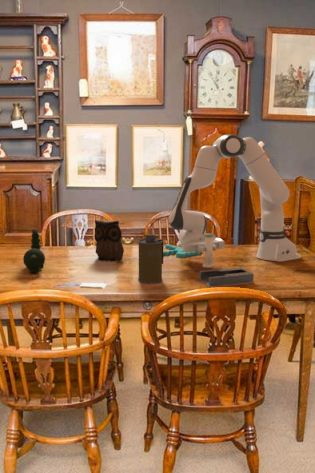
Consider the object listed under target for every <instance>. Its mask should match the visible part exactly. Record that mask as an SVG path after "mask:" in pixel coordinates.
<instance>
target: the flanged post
mask: <svg viewBox="0 0 315 473" xmlns="http://www.w3.org/2000/svg"><path fill="white" fill-rule="evenodd" d="M204 234H205V247H206V251H204V262H203V263H202V268H205V269H206V268H207V269H211V268H215V267H216V264H215V263H214V250H213V235H214V233H207V232H206V233H204Z"/></svg>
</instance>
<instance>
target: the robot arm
mask: <svg viewBox="0 0 315 473" xmlns="http://www.w3.org/2000/svg"><path fill="white" fill-rule="evenodd" d="M236 157H238V158H239V159H240V160H241V161H242V163H243V165H244V167H245V169H246V170H247V172H248V173H249V175H250V176H251V178H252V180H253V181H254V182H255V183H256V185H257V186H258V192H259V200H260V201H259V202H260V211H261V212H260V213H261V214H260V215H261V217H260V229H259V242H258V249H257V253H256V258H257V259H259V260H260V259H261V260H264V261H274V262H279V263H281V262H287V261H292V260H293V261H294V260H297V259H302V256H301V254H299V253H298V252H297V251H298V250H297V246H296V244H294V243H293V241H291V240H290V239H288V237H287V236H290V235H291V232H290V231H288V230H284V223H285V221H284V220H285V214H284V209H283V204H285V203H286V202H287V201H288V200H289V198H290V194H291V192H290V189H289V187H288V185H287V184H286V183H285V181H284V180H283V179H282V177H281V176H280V175H279V173H278V172H277V170H276V169H275V168H274V167H273V165H272V164H271V161H270V160H269V159H268V157H267V155H266V154H265V152H264V150H263V148H262V147H261V146H260V144H259V143H258V142H257V140H255V139H254V138H253V137H251V136H246V137H243V138H242V137H240V136H238V135H236V134H230V133H229V134H224V135H221V136H219V137H217V138H216V139H215V140H214V141H213V142H212V143H211V144H210V145H203V146H202V147H200V149H199V151H198V153H197V156H196V159H195V161H194V162H195V163H194V167H193V169H192V171H191V173H190V174H189V176H186V177H185V179H184V181H183V182H182V184H181V188H180V189H179V192H178V194H177V196H176V197H177V198H176V200H175V203H174V205H173V207H172V209H171V212H170V213H169V216H168V224H169V226H170V227H171V228H172V229H173V230H176V231H179V233H178V239H179V242H180V243H179V244H178V246H177V247H178V248H182V251H184V252H197V253H199V252H201V253H202V252H204V253H205V251H206V247H205V234H206V233H205V232H206V230H207V228H208V221H207V218H206V216H205V214H204V213H202V212H199V211H192V210H187V209H185V207H186V204H187V201H188V199H189V196H190V194H191V193H192V192H193V191H195V190H198V189H203V188H206V187H209V186H211V185H212V184H213V183H214V182H215V179H216V177H217V172H218V167H219V164H220V161H221V160H222V159H230V158H236ZM224 248H225V240H223V239H222V238H219V237H217V236H216V235H215V234H213V251H217V250H221V249H222V250H223V249H224Z"/></svg>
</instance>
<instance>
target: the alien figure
mask: <svg viewBox="0 0 315 473" xmlns="http://www.w3.org/2000/svg"><path fill="white" fill-rule="evenodd" d="M165 249H168V250H165V251H163V257H164V256H170V255H171V254H172V255H173V256H174V255H176V256H175V257H176V258H186V257H195V256H200V255H201V253H202V252H199V253H197V252H184V251H182V248H181V247H178V246H174V245H173V244H172V245H171V244H170V243H169V244H168V243H167V244H165ZM171 249H172V250H171ZM169 254H170V255H169ZM172 255H171V256H172Z"/></svg>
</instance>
